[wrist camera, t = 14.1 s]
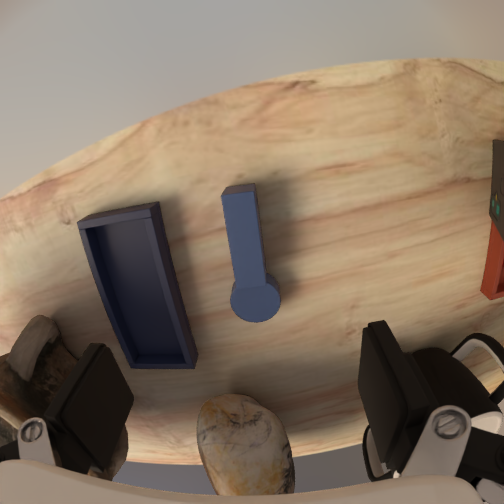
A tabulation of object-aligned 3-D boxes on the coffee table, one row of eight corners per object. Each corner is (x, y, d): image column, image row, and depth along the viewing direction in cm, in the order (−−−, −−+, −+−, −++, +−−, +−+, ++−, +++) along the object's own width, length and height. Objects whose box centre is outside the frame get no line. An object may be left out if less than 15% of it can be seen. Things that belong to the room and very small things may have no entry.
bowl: (45, 421, 38) (13, 481, 24) (-34, 294, 28) (-95, 350, 15) (176, 442, 36) (156, 532, 22) (94, 278, 26) (1, 386, 12)
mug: (342, 426, 33) (357, 504, 22) (359, 331, 27) (397, 431, 16) (449, 401, 32) (479, 464, 21) (486, 308, 26) (544, 374, 15)
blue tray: (88, 214, 24) (76, 222, 22) (158, 201, 23) (149, 208, 21) (137, 355, 29) (130, 368, 27) (198, 354, 29) (194, 369, 27)
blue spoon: (214, 188, 23) (207, 197, 20) (267, 181, 22) (267, 189, 20) (236, 312, 27) (233, 333, 24) (281, 308, 26) (283, 328, 24)
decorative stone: (191, 372, 30) (160, 498, 16) (274, 356, 29) (278, 497, 15) (244, 452, 36) (239, 544, 22) (307, 442, 35) (315, 539, 21)
